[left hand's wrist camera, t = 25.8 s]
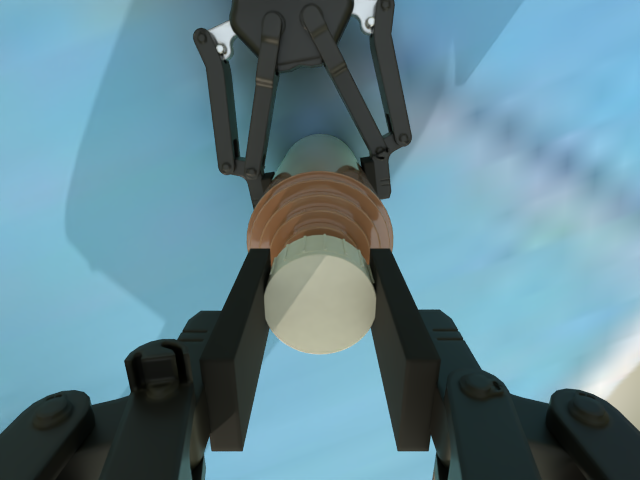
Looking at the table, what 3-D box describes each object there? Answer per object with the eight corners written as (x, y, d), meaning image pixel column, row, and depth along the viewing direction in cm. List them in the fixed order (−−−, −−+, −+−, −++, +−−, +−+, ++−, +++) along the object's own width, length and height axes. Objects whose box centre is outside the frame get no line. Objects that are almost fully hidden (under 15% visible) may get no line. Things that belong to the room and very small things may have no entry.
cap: (246, 272, 15) (236, 297, 13) (330, 211, 14) (331, 229, 12) (310, 341, 16) (309, 373, 14) (391, 289, 15) (401, 315, 13)
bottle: (300, 120, 34) (263, 163, 12) (370, 153, 35) (456, 248, 13) (271, 191, 37) (196, 336, 14) (338, 219, 38) (364, 397, 15)
